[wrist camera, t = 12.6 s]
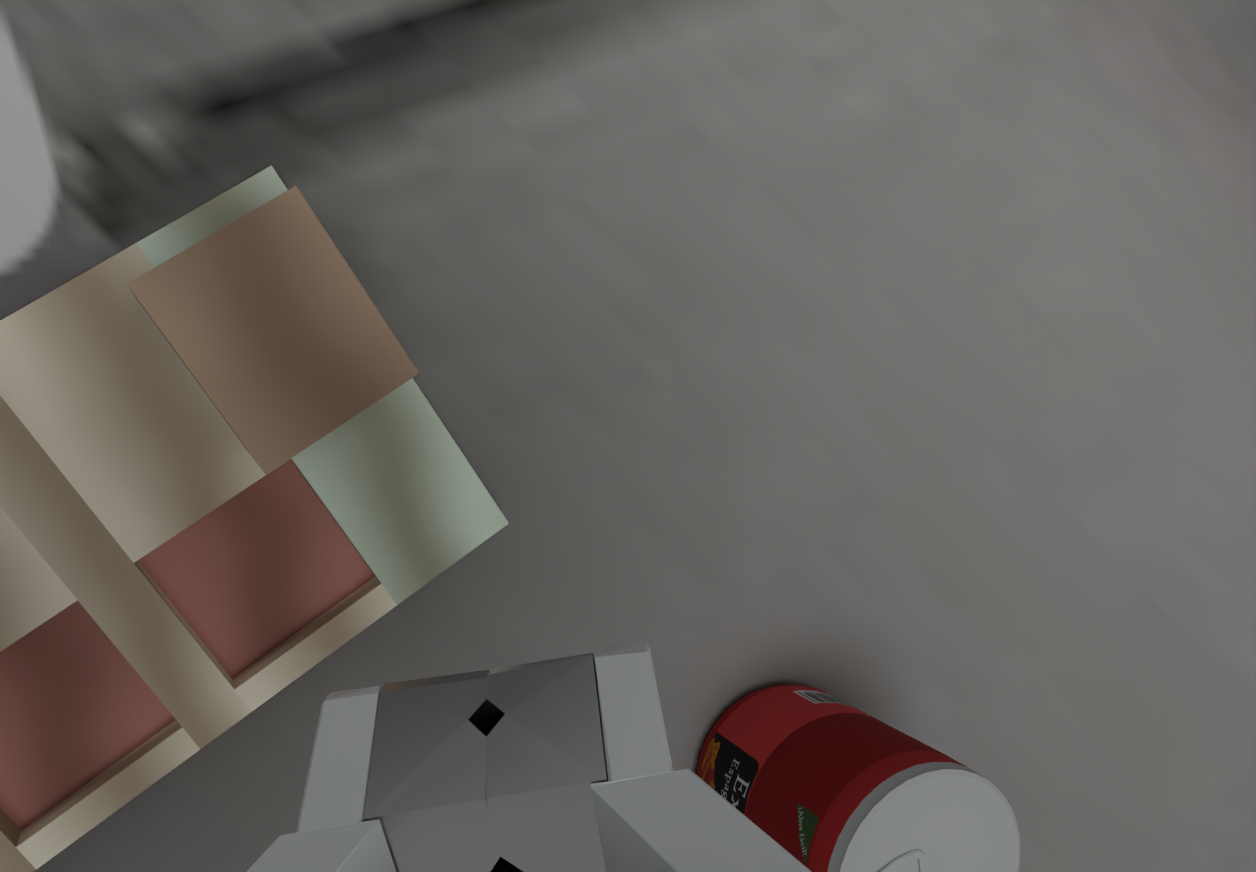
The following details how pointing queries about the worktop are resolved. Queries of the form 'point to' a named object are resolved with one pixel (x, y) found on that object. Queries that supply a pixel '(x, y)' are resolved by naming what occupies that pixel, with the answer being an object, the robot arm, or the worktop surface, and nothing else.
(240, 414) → the walnut block
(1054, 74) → the worktop surface
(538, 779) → the robot arm
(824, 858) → the canned food
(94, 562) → the box
